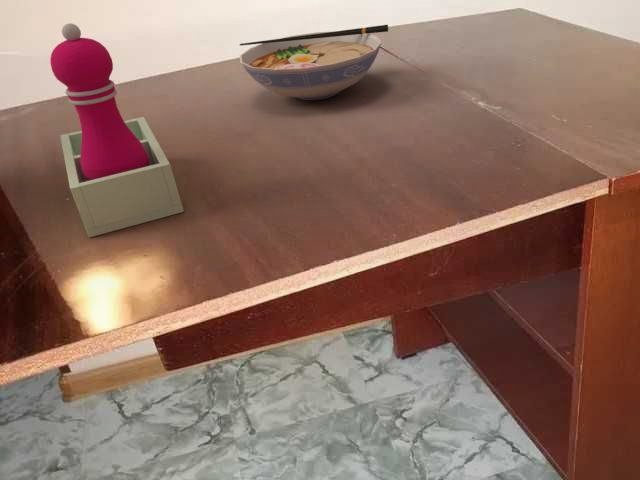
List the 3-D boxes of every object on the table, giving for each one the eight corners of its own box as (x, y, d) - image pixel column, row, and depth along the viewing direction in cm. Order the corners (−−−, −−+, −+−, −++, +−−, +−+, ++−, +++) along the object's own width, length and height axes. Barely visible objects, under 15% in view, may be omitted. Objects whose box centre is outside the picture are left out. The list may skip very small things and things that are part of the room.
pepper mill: (172, 189, 84) (120, 15, 73) (127, 216, 78) (65, 33, 68) (127, 182, 87) (71, 15, 76) (81, 208, 81) (14, 31, 71)
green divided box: (88, 238, 77) (69, 188, 74) (76, 178, 93) (60, 135, 90) (184, 211, 81) (169, 163, 78) (156, 158, 96) (143, 116, 93)
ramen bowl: (229, 124, 106) (216, 70, 102) (254, 80, 125) (244, 34, 121) (393, 109, 106) (387, 54, 101) (392, 67, 125) (388, 20, 121)
